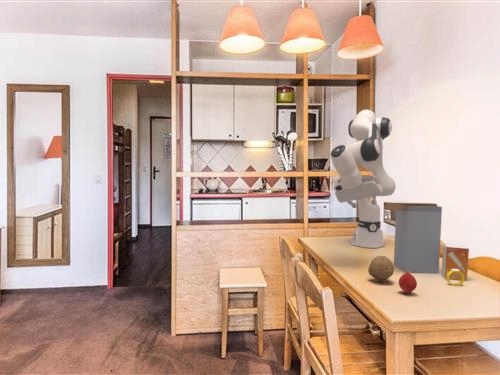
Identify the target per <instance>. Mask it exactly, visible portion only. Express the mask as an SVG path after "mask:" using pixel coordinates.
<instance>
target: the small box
mask: <svg viewBox="0 0 500 375" xmlns="http://www.w3.org/2000/svg"><path fill="white" fill-rule="evenodd" d="M469 254H470V248H469V247H467V246H466V245H465V244H464V245H462V244H453V243H452V244H449V243H443V244H442V261H441V262H442V263H441V264H442V265H441V276H443V278H444V279H446V277H447V274H448V272H449V271H451V269H459V270H460V272H461V273H463V275H464V280H465V281H466V282H467V281H468V272H469V271H468V269H469V256H470V255H469ZM461 279H462V276H461V274H460V273H459V272H453V273H451V274H450V276H449V280H458V281H461ZM446 280H447V279H446Z"/></svg>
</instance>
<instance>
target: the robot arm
mask: <svg viewBox="0 0 500 375" xmlns="http://www.w3.org/2000/svg"><path fill="white" fill-rule="evenodd" d="M347 130H348V135H349V136H350V138H352V139H355V140H357V141H356V142H352V143H348V144H347V143H346V144H340V145H337V146H335V147H334V148H333V149H332V150H331V152H330V159H331V162H332V165H333V168H334V170H335V171H336V173H337V174H338V175H339V179H337V180H336V182H335V183H334V186H333V190H334V191H335V192H334V194H335V197H336V200H337V202H339V203H340V204H343V203H347V204H348V205H350V206H351V207H352V209H356V208H357V206H358V212H359V213H358V216H359V217H358V218H359V219H358V222H357V227H356V229H355V230H354V231H353V232H351V237H353V238H349V243H350V245H352V246H353V247H355V246H356V247H361V248H369V249H370V248H371V249H372V248H373V249H374V248H375V249H379V248H382V247H385V246H386V244H385V243H384V238H383V237H384V236H383V235H384V233H383V232H384V231H383V230H382V229H381V225H382V224H381V207H380V206H379V204H378V201H377V197H388V196H392V195H393V194H394V193H395V191H396V188H397V187H396V186H397V185H396V182H395V180H394V179H393V178H392V177H391V176H390V175H389V174H388V173H387V172H386V170H385V167H384V164H383V163H384V161H383V147H384V145H383V141H384V140H385V139H386V138H388V137H389V136H390V135H391V133H392V130H393V124H392V122H391V119H390V118H388V117H384V116H382V117H379V116H378V117H377V116H376V113H375V112H374V111H372V110H370V109H363V110H362V109H361V111H359V112H358V113H357V114H356V116H355V117H354V118H353V119H351V120H350V121H349V123H348V127H347ZM360 164H361V166H362V167H363V168H364V169H366V170H367V171H369V172H371V173H372V175H368V176H367V175H362V173H361V171H360V168H358V167H357V165H360ZM370 198H372V200H371V199H370ZM354 201H356V202H357V203H356V202H354Z"/></svg>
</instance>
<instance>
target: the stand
mask: <svg viewBox="0 0 500 375" xmlns="http://www.w3.org/2000/svg"><path fill="white" fill-rule="evenodd" d="M442 211H443V206H438V205H437V207H433V206H408V209H407V211H398V210H395V228H394V252H393V267H396V268H397V269H399V270H400V271H402V272H404V274H405V273H407V271H409V272H410V274H439V273H440V254H441V252H440V251H441V236H442V235H441V234H442V214H443V212H442Z"/></svg>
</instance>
